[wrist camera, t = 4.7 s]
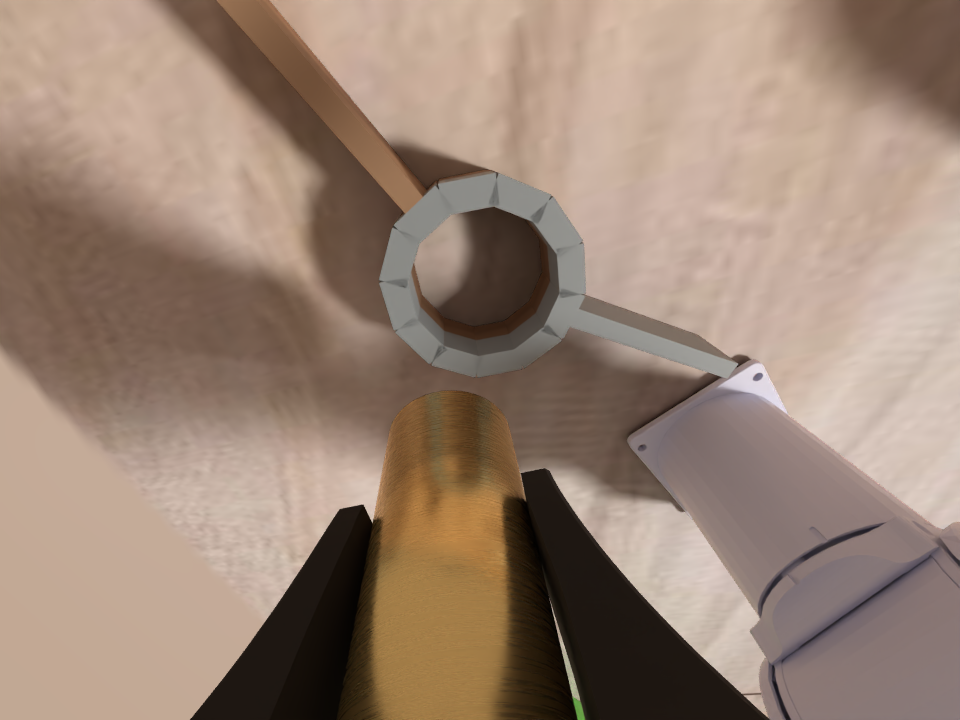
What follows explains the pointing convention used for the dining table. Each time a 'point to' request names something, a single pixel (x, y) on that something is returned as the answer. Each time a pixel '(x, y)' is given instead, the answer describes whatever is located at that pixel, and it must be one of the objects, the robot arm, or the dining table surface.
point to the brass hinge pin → (453, 579)
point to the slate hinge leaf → (558, 303)
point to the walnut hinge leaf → (360, 140)
